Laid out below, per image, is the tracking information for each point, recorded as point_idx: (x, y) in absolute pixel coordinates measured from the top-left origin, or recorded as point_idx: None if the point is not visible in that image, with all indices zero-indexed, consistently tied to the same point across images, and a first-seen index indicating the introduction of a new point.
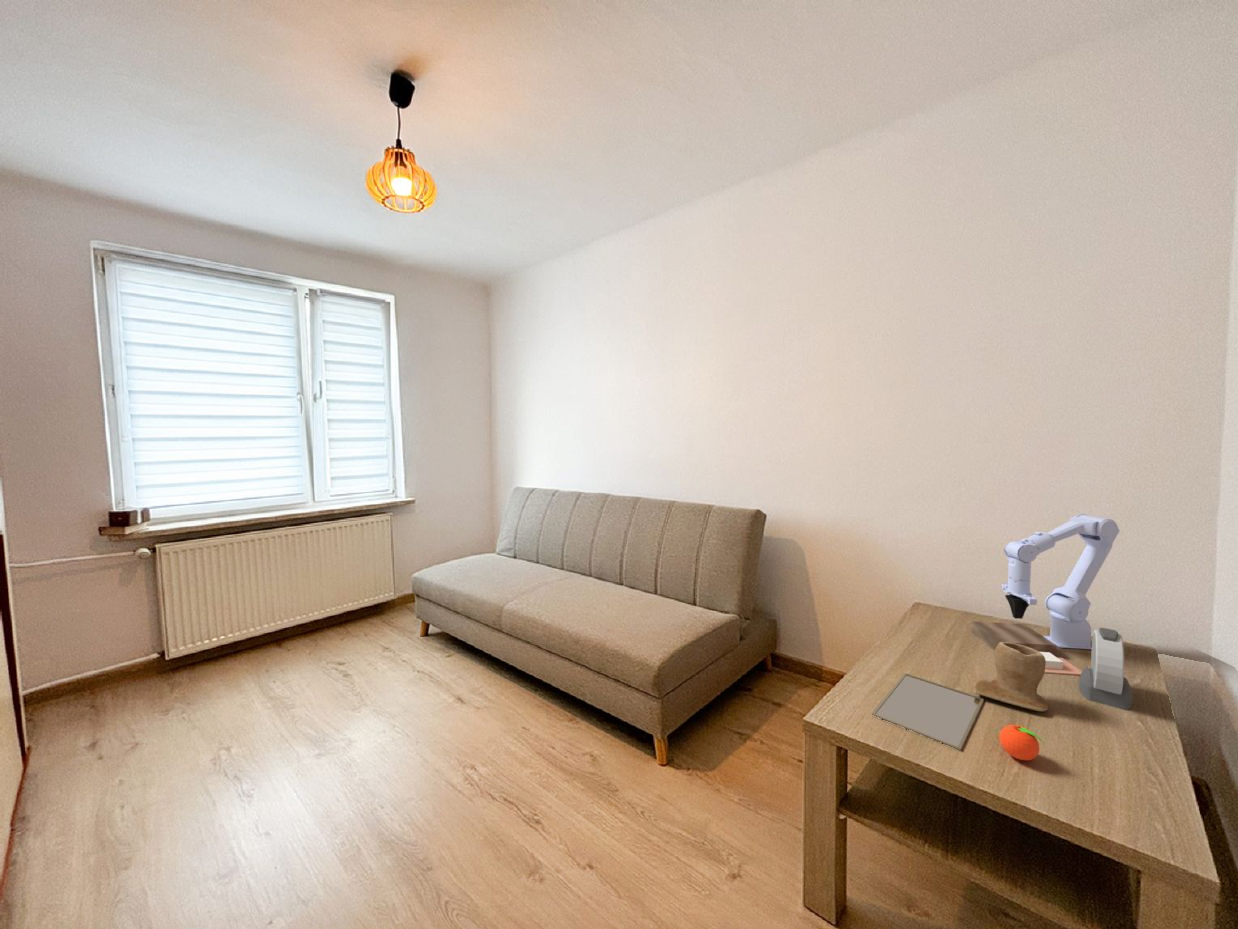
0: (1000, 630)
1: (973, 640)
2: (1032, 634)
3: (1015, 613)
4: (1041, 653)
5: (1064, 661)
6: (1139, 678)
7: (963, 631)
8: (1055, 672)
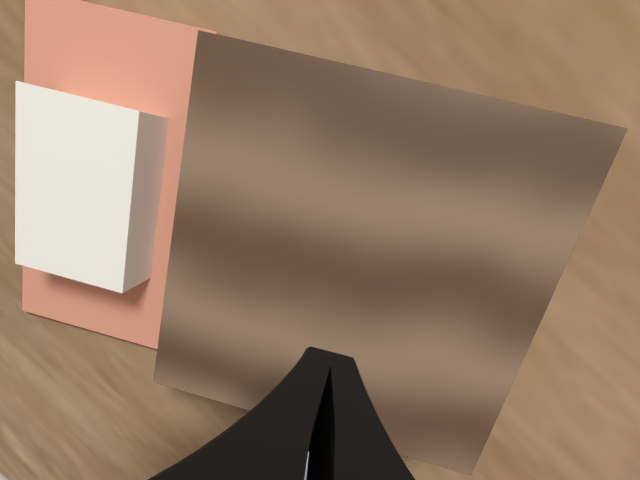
0: (397, 223)
1: (436, 41)
2: None
3: (285, 377)
4: (106, 236)
5: (136, 331)
6: (35, 471)
7: (591, 81)
8: None
